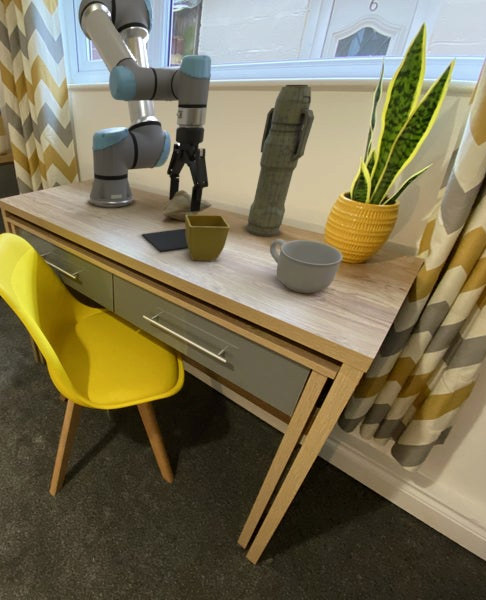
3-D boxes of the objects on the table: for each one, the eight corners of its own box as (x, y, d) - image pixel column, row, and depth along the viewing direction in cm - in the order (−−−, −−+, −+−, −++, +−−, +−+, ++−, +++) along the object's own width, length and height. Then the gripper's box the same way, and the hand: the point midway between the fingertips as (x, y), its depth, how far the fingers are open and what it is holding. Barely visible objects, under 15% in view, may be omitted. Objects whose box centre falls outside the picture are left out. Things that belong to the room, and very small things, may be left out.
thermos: (272, 240, 88) (312, 84, 69) (235, 228, 96) (263, 84, 77) (290, 233, 92) (332, 85, 74) (254, 222, 100) (284, 85, 82)
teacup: (341, 294, 65) (357, 257, 60) (298, 304, 61) (311, 265, 57) (290, 264, 76) (300, 231, 71) (250, 271, 73) (258, 237, 68)
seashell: (170, 209, 93) (176, 178, 95) (153, 219, 101) (159, 191, 103) (209, 227, 99) (214, 197, 101) (191, 236, 107) (196, 208, 109)
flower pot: (181, 249, 83) (185, 213, 78) (216, 249, 83) (222, 214, 78) (185, 264, 75) (189, 226, 71) (223, 265, 75) (230, 227, 70)
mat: (141, 235, 90) (141, 234, 90) (193, 228, 95) (193, 227, 95) (160, 252, 81) (160, 250, 81) (216, 244, 86) (216, 242, 85)
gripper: (158, 123, 98) (155, 196, 109) (202, 130, 78) (193, 218, 89) (181, 123, 100) (175, 194, 111) (229, 129, 80) (217, 215, 91)
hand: (183, 205), depth 100 cm, fingers open, 13 cm apart
